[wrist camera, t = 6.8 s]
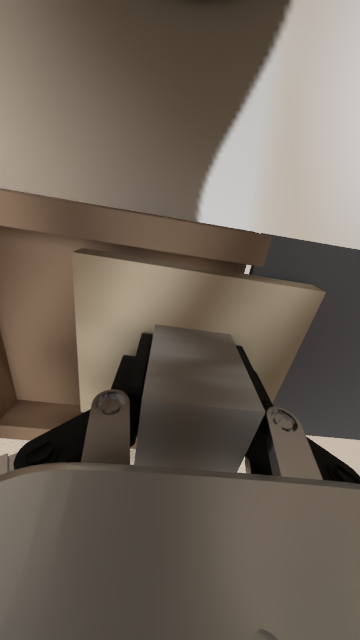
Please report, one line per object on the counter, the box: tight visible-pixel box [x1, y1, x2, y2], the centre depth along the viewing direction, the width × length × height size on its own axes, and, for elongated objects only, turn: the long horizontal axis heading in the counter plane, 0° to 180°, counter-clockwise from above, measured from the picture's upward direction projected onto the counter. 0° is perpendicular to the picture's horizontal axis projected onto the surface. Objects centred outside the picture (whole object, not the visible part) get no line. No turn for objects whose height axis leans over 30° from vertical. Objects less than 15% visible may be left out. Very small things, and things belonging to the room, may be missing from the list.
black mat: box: [249, 233, 360, 440], centre depth 15 cm, size 15×14×1 cm
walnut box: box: [0, 188, 272, 449], centre depth 12 cm, size 14×14×3 cm
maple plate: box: [72, 248, 326, 473], centre depth 11 cm, size 12×10×6 cm
